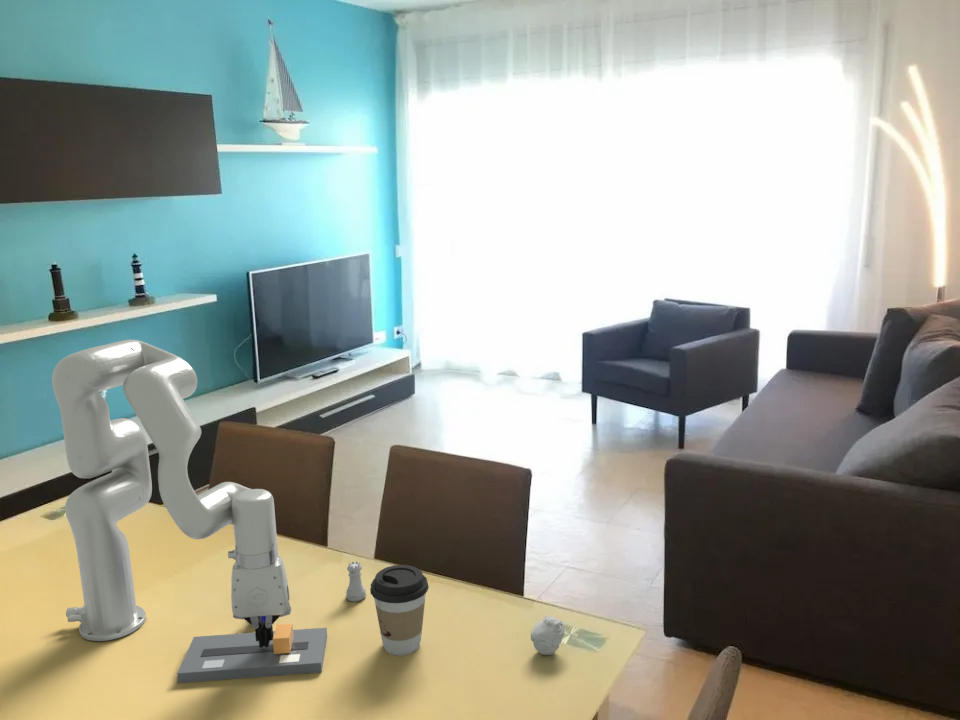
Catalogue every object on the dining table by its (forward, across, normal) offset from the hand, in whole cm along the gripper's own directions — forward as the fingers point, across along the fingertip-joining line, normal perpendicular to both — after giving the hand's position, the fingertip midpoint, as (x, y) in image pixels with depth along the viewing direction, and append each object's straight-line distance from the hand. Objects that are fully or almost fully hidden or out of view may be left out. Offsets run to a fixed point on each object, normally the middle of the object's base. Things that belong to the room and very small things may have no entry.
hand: (265, 643), depth 151 cm
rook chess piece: (+4, +16, +21) cm, 27 cm away
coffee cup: (+4, +26, +1) cm, 26 cm away
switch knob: (+1, +4, 0) cm, 4 cm away
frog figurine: (+4, +54, -5) cm, 54 cm away
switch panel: (+3, -2, 0) cm, 4 cm away
